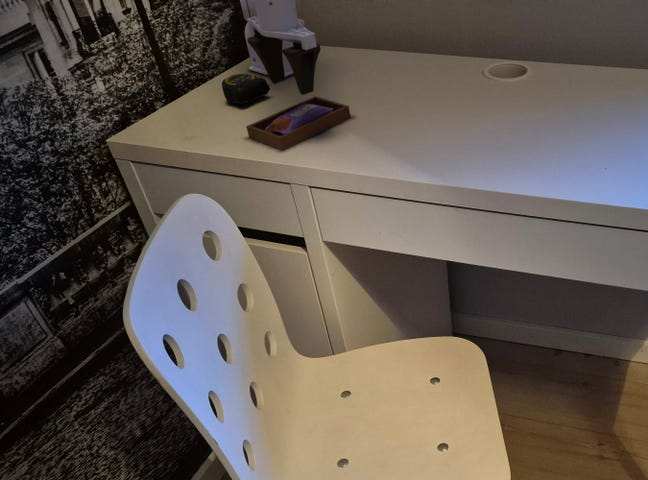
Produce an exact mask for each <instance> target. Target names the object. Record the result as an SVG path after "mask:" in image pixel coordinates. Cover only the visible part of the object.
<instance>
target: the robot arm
mask: <svg viewBox="0 0 648 480" xmlns="http://www.w3.org/2000/svg"><path fill="white" fill-rule="evenodd" d="M239 2H240V7H241V10H242V15H243V18H244V20H245V21H246V22H247V23H246V25H245V28H244V38H245V42H246V46H247V50H248V51H247V52H248V54H249V58H250V62H251V66H249V67H248V69H249V70H250V71H252V72H255V73H258V74H263V75H266V76H268V78H269V80H270V82H271V83H272V84H274V85H276V84H278V83H282V82H284V81H285V80H286V79H285V78H287V77H289V76H292V75H294V79H295V82H296V86H297V89H298V92H299V94H300V95H302V96H306V95H308V94H310V93H313V92H314V88H315V73H316V66H317V62H318V57H319V54H320V53H321V49H322V48H321V44H319V43H317V40H316V34H315V32H313V31H310V30H309V29H308V28H306V27H305V24H306V23H305V20H304V19H301V18H298V8H297V2H296V0H239Z"/></svg>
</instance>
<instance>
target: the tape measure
mask: <svg viewBox="0 0 648 480" xmlns="http://www.w3.org/2000/svg"><path fill="white" fill-rule="evenodd" d="M270 86H271V85H270V84H268V81H267V80H266V79H265V77H264V78H263V77H257V76H256V75H255V74H252V73H236V74H232V75H230V76H227V77H225V78H223V80H222V81H221V88H222V93H223V96H224V99H225V100H227V101H228V103H233V104H248V103H250V104H251V103H253V101H254V100H257V99H259V98H261V97H263V96H264V97H265V96H267V95H268V94H269V91H271V87H270Z"/></svg>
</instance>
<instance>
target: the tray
mask: <svg viewBox="0 0 648 480" xmlns="http://www.w3.org/2000/svg"><path fill="white" fill-rule="evenodd" d="M304 104H315V105H319V106H323V107H327V108H332V109H333V110H331V111H330V112H329V113H328V114H327V115H325V116H322V117H320V118H318V119H316V120H314V121H312V122H310V123H307V124H305V125H303V126H301V127H299V128H297V129H294V130H292V131H290V132H288V133H286V134H284V133H279V132H276V131H272V130H268V129H265V128H266V127H268V126H269V125H270V124H271V123H272V122H273V121H274V120H275V119H277V118H278V117H280V116H282V115H284V114H286V113H288V112H290V111H291V110H294V109H296V108H297V107H299V106H301V105H304ZM350 118H351V111H350V105H347V104H343V103H340V102H337V101H333V100H329V99H327V98H324V97H320V96H317V95H314V96H312V97H309V98H307V99H306V100H303V101H300V102H298V103H296V104H294V105H291V106H289V107H286V108H285V109H283V110H280V111H278V112H276V113H273V114H271V115H268V116H266V117H264V118H262V119H259V120H256V121H255V122H253V123H250V124H248V125H246V126H245V129H246V131H247V134H248V138H249V139H250V140H253V141H256V142H259V143H262V144H265V145H267V146H270V147H272V148H275V149H278V150H281V151H285V150H286V149H289V148H290V147H293V146H295V145H297V144H299V143H301V142H303V141H305V140H307V139H309V138H311V137H313V136H315V135H318V134H319V133H321V132H323V131H326V130H328V129H329V128H331V127H334V126H337V125H338V124H340V123H342V122H344V121H346V120H348V119H350Z"/></svg>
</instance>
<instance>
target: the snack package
mask: <svg viewBox="0 0 648 480" xmlns="http://www.w3.org/2000/svg"><path fill="white" fill-rule="evenodd" d="M331 110H333V109H332V108H327V107H323V106H319V105H315V104H304V105H301V106H299V107H297V108H296V109H294V110H291V111H290V112H288V113H286V114H284V115H282V116H280V117H278V118H277V119H275V120H274V121H273V122H272V123H271V124H270V125H269V126H268V127H266V128H265V129H268V130H272V131H276V132H279V133H284V134H286V133H288V132H290V131H292V130H294V129H297V128H299V127H301V126H303V125H305V124H307V123H310V122H312V121H314V120H316V119H318V118H320V117H322V116H325V115H327V114H328V113H329V112H330V111H331Z"/></svg>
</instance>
